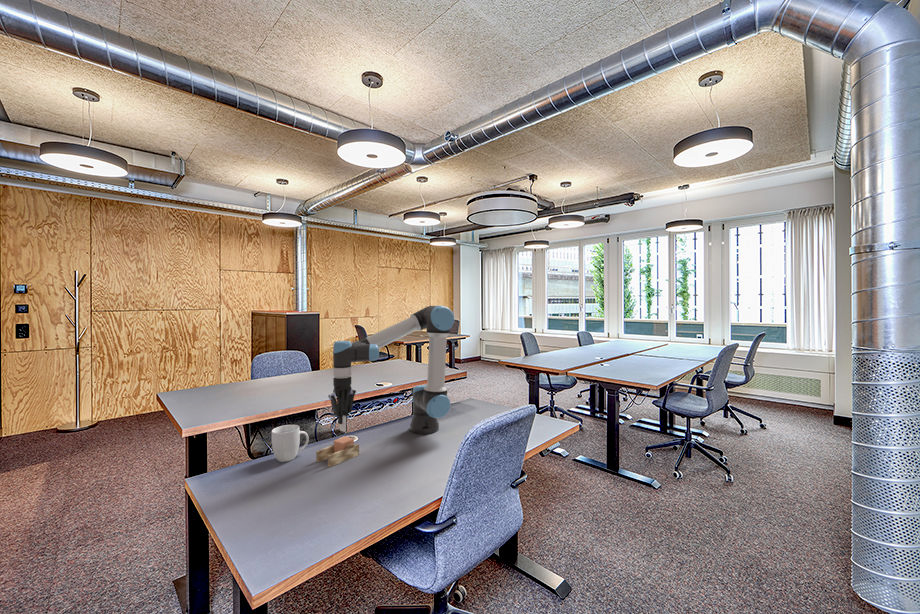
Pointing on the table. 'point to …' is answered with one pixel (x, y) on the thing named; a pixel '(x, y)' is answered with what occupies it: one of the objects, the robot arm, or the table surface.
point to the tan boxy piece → (337, 454)
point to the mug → (287, 442)
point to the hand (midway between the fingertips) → (342, 430)
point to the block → (342, 443)
